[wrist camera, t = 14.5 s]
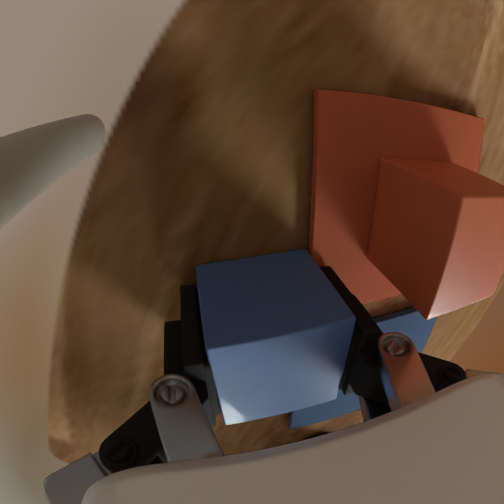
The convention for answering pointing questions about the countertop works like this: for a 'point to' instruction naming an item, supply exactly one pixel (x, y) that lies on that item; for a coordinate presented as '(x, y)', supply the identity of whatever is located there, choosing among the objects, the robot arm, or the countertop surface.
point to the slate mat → (399, 322)
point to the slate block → (272, 334)
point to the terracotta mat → (372, 172)
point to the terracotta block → (437, 233)
